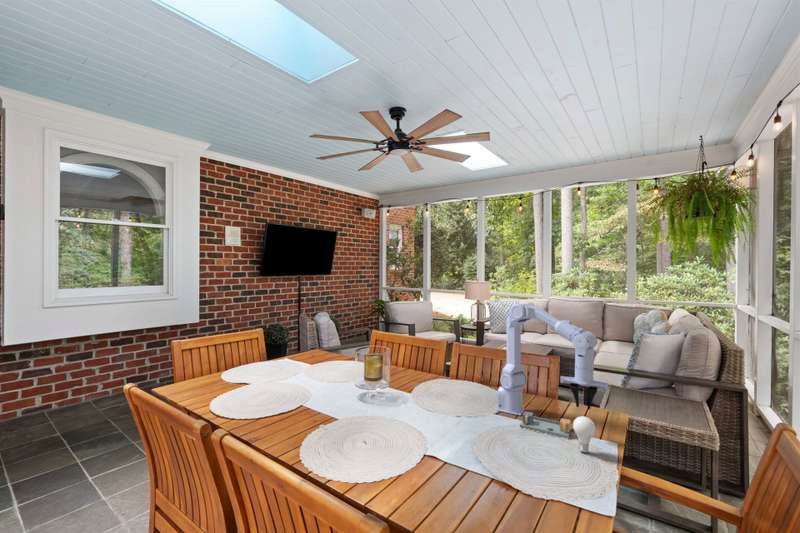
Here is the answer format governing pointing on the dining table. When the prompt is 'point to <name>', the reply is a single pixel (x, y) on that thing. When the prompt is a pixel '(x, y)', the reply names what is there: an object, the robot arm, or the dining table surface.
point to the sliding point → (565, 425)
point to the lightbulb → (584, 431)
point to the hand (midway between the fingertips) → (583, 407)
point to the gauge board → (542, 425)
